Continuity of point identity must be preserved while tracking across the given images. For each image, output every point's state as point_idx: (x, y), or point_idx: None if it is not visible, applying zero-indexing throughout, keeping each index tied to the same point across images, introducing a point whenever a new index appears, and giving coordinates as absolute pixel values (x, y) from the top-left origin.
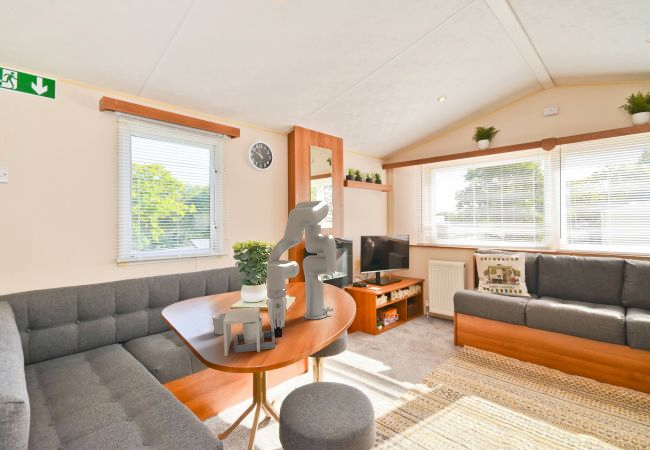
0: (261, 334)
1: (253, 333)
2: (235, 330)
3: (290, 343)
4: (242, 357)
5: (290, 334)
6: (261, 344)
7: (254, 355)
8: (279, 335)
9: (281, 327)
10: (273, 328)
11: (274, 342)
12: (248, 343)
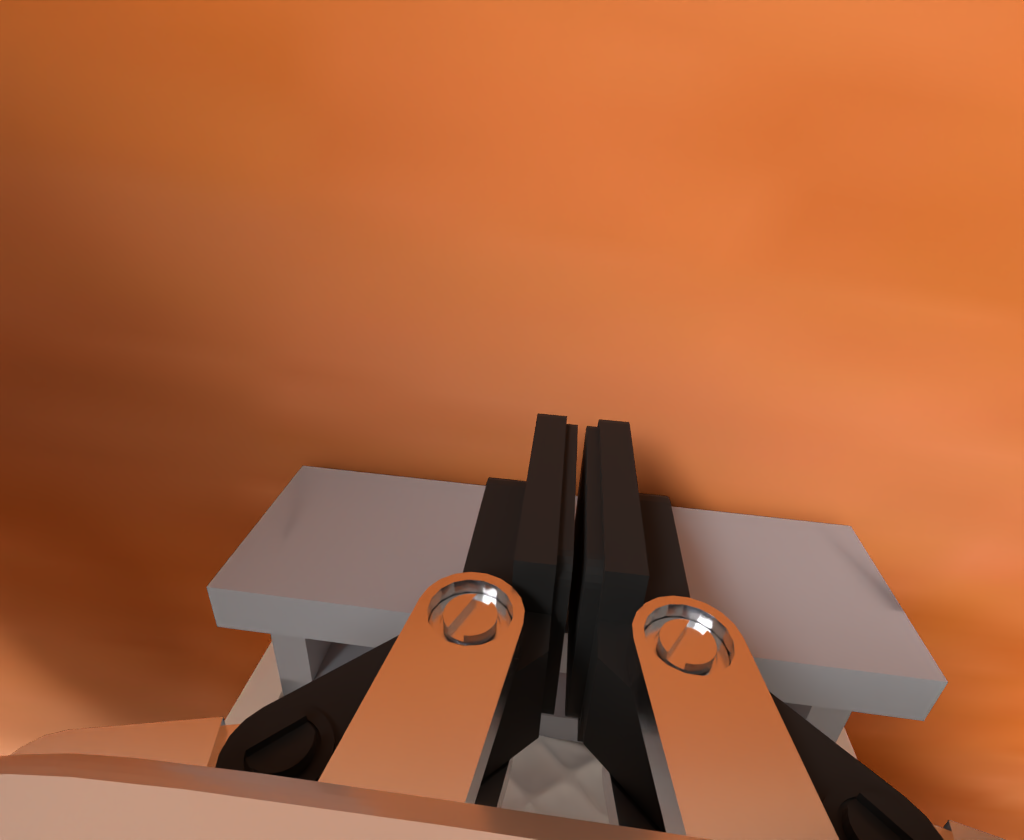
0: (562, 800)
1: None
2: None
3: (759, 213)
4: None
5: (223, 127)
6: None
7: (898, 753)
8: (662, 511)
9: (610, 582)
10: (294, 605)
11: (892, 608)
12: None
